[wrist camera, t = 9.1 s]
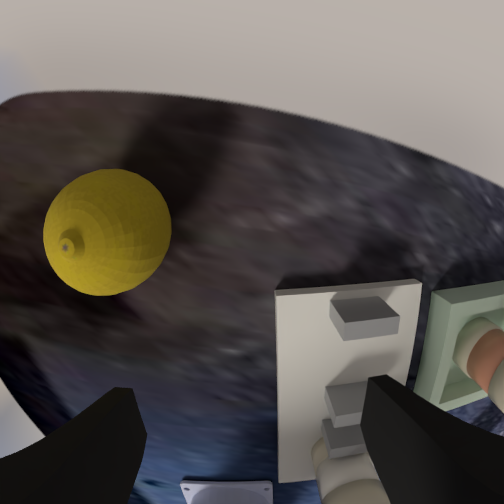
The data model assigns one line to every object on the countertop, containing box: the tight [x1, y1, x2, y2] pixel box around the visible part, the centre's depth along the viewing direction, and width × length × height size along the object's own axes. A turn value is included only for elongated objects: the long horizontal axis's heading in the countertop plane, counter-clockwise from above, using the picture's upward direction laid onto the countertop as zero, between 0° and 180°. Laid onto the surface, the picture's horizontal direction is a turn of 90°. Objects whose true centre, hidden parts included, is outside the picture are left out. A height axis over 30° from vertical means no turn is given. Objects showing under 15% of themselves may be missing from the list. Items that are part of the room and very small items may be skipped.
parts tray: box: [413, 280, 504, 411], centre depth 18 cm, size 9×9×2 cm
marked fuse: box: [452, 317, 504, 413], centre depth 15 cm, size 4×4×7 cm
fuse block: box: [275, 279, 422, 503], centre depth 18 cm, size 17×9×4 cm, turn 3°
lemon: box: [44, 169, 171, 295], centre depth 13 cm, size 6×6×8 cm
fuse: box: [311, 437, 391, 504], centre depth 17 cm, size 4×4×7 cm
